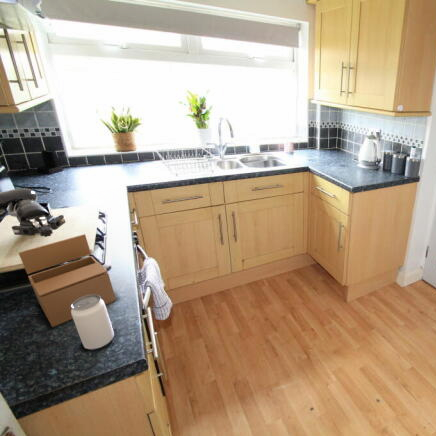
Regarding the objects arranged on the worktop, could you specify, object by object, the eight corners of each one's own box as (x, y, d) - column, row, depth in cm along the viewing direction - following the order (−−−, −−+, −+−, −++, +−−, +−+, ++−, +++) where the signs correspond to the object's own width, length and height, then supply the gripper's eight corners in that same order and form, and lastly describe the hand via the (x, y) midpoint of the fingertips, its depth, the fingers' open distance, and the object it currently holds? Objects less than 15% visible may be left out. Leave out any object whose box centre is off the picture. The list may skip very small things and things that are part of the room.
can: (119, 338, 80) (107, 299, 76) (90, 354, 75) (76, 314, 71) (107, 327, 84) (95, 290, 79) (78, 342, 79) (63, 303, 74)
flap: (18, 253, 84) (18, 252, 84) (27, 274, 87) (27, 273, 87) (85, 234, 94) (84, 234, 95) (91, 254, 97) (90, 253, 98)
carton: (52, 327, 83) (38, 295, 79) (39, 303, 91) (26, 273, 87) (116, 300, 94) (107, 270, 89) (99, 281, 102) (91, 253, 98)
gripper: (62, 221, 109) (77, 237, 99) (10, 233, 100) (21, 252, 90) (55, 200, 106) (70, 215, 96) (1, 211, 97) (11, 229, 87)
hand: (46, 233), depth 93 cm, fingers closed
